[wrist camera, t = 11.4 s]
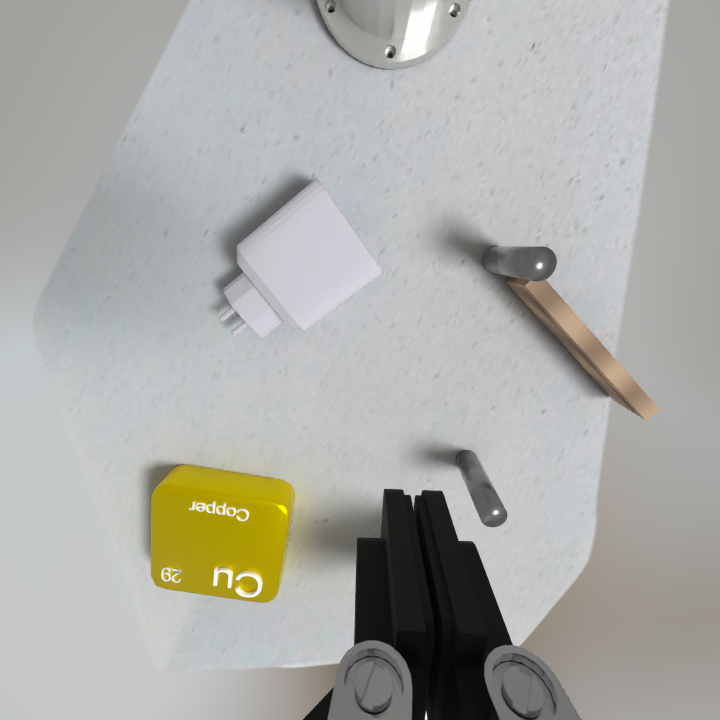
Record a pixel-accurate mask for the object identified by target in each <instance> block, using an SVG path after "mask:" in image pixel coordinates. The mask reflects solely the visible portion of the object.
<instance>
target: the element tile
mask: <svg viewBox="0 0 720 720" xmlns="http://www.w3.org/2000/svg"><path fill="white" fill-rule="evenodd" d="M294 501H295V492H294V489H293V487H292V486H291V485H290V484H289V483H287V482H285V481H283V480H280V479H274V478H268V477H262V476H255V475H249V474H243V473H237V472H230V471H224V470H218V469H212V468H205V467H199V466H193V465H178V466H176V467H174V468H173V469H172V470H171V471H170V472H169V473H168V474H167V475H166V477H165V478H164V479H163V480H162V481H161V482H160V484H159V485H158V486H157V487H156V488H155V490H154V491H153V493H152V497H151V577H152V579H153V581H154V583H155V585H157V586H159V587H161V588H164V589H168V590H175V591H182V592H189V593H196V594H203V595H210V596H217V597H224V598H231V599H238V600H245V601H252V602H269V601H271V600H273V599H274V598H275V597H276V595H277V593H278V591H279V587H280V583H281V579H282V575H283V571H284V567H285V560H286V553H287V547H288V540H289V534H290V527H291V521H292V514H293V508H294Z"/></svg>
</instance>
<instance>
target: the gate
mask: <svg viewBox="0 0 720 720" xmlns="http://www.w3.org/2000/svg"><path fill="white" fill-rule="evenodd" d="M505 282H506V283H507V284H508V285H509V286H510V287H511V288H512V289H513V291H514V292H515V293H516V294H517V295H518V296H519V297H520V298H521V299H522V300H523V302H524V303H525V304H526V305H527V306H528V307H529V308H530V309H531V310H532V311H533V313H534V314H535V315H536V316H537V317H538V318H539V319H540V320H541V321H542V322H543V323H544V325H545V326H546V327H547V328H548V329H549V330H550V331H551V332H552V333H553V334H554V336H555V337H556V338H557V339H558V340H559V341H560V342H561V343H562V344H563V345H564V346H565V348H566V349H567V350H568V351H569V352H570V353H571V354H572V355H573V356H574V357H575V359H576V360H577V361H578V362H579V363H580V364H581V365H582V366H583V367H584V368H585V369H586V371H587V372H588V373H589V374H590V375H591V376H592V377H593V378H594V379H595V380H596V382H597V383H598V384H599V385H600V386H601V387H602V388H603V389H604V390H605V391H606V393H607V394H608V395H609V396H610V397H611V398H612V399H613V400H614V401H616V402H617V403H619V404H620V405H622V406H624V407H625V408H627V409H629V410H630V411H632V412H634V413H635V414H637V415H638V416H640V417H641V418H643V419H645V420H646V419H647V418H649V417H650V416H652V415H653V414H654V413H656V412H657V411H658V410H659V408H658V407H656V405H655V404H654V403H653V402H652V400H651V399H650V398H649V397H648V396H647V395H646V394H645V392H644V391H643V390H642V389H641V388H640V387H639V386H638V384H637V383H636V382H635V381H634V380H633V379H632V378H631V377H630V375H629V374H628V373H627V372H626V371H625V370H624V369H623V367H622V366H621V365H620V364H619V363H618V362H617V361H616V359H615V358H614V357H613V356H612V355H611V354H610V353H609V351H608V350H607V349H606V348H605V347H604V346H603V345H602V343H601V342H600V341H599V340H598V339H597V338H596V337H595V335H594V334H593V333H592V332H591V331H590V330H589V329H588V328H587V326H586V325H585V324H584V323H583V322H582V321H581V320H580V318H579V317H578V316H577V315H576V314H575V313H574V312H573V310H572V309H571V308H570V307H569V306H568V305H567V304H566V302H565V301H564V300H563V299H562V298H561V297H560V296H559V295H558V293H557V292H556V291H555V290H554V289H553V288H552V287H551V285H550V284H549V283H548V282H547V281H546V280H543V281H538V282H536V281H530V280H526V279H521V278H516V277H511V276H509V277H508V278H507V279H506V280H505Z"/></svg>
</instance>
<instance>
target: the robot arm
mask: <svg viewBox="0 0 720 720" xmlns="http://www.w3.org/2000/svg"><path fill="white" fill-rule="evenodd" d="M316 1H317V4H318V7H319V10H320V13H321V16H322V18H323V20H324V22H325V24H326V26H327V28H328V30H329V31H330V33H331V34H332V35H333V37H334V38H335V39H336V41H337V42H338V43H339V45H340V46H341V47H343V48H344V49H345V50H346V51H347V52H348V53H349V54H350V55H351V56H353V57H355V58H356V59H358V60H360V61H361V62H363V63H365V64H368V65H371V66H374V67H377V68H385V69H398V68H406V67H410V66H412V65H415V64H418V63H420V62H422V61H424V60H426V59H427V58H429V57H430V56H432V55H434V54H435V53H436V52H437V51H438V50H439V49H440V48H442V47H443V46H444V45H445V44H446V43H447V42H448V41H449V39H450V38H451V37H452V35H453V34H454V32H455V31H456V30H457V28H458V27H459V25H460V23H461V21H462V19H463V17H464V15H465V13H466V11H467V9H468V6H469V4H470V1H471V0H316ZM330 10H334V12H333V13H329V11H330ZM450 14H454V15H455V17H452V16H451V15H450ZM388 54H391V55H392V56H393V58H391V59H390V58H387V55H388ZM426 713H427V720H582V719H581V718H580V716H579V715H578V713H577V711H576V709H575V708H574V706H573V704H572V703H571V701H570V699H569V697H568V696H567V694H566V692H565V690H564V689H563V687H562V685H561V684H560V682H559V680H558V679H557V677H556V676H555V674H554V673H553V672H552V670H551V669H550V667H548V666H547V665H546V664H545V663H544V662H543V661H542V660H541V659H540V658H539V657H538V656H536V655H534V654H533V653H531V652H530V651H528V650H526V649H523V648H521V647H518V646H513V644H512V642H511V639H510V636H509V634H508V631H507V628H506V626H505V623H504V620H503V618H502V615H501V612H500V610H499V607H498V604H497V601H496V599H495V596H494V593H493V591H492V588H491V585H490V583H489V580H488V577H487V575H486V572H485V569H484V567H483V564H482V561H481V559H480V556H479V553H478V551H477V548H476V546H475V544H474V543H473V542H472V541H458V538H457V535H456V532H455V529H454V525H453V522H452V519H451V516H450V513H449V510H448V507H447V504H446V500H445V497H444V494H443V492H442V491H429V490H423V491H422V495H416V496H415V502H414V511H413V506H412V500H411V496H410V495H404V492H403V490H400V489H384V495H383V511H382V526H381V538H357V560H356V593H355V635H354V646H353V647H352V648H351V649H349V650H348V651H347V653H346V654H345V655H344V657H343V658H342V660H341V662H340V665H339V667H338V670H337V674H336V679H335V684H334V687H333V689H331V691H330V692H329V693H328V694H327V695H326V696H325V697H324V698H323V699H322V700H321V701H320V702H319V704H317V705H316V706H315V708H314V709H313V710H312V711H311V712H310V713H309V714H308V715H307V716H306V717H305V718H304V719H303V720H425V715H426Z"/></svg>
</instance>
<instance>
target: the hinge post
mask: <svg viewBox="0 0 720 720" xmlns="http://www.w3.org/2000/svg"><path fill="white" fill-rule="evenodd" d="M556 263H557V260H556V256H555V254H554V252H553V251H552V250H551V249H549V248H547V247H492V248H490V249H488V250H487V251H486V252H485V254H484V256H483V266H484V268H485V269H486V270H487V271H489V272H492V273H497V274H502V275H506V276H511V277H516V278H521V279H526V280H530V281H536V282H538V281H543V280H545V279H547V278H548V277H550V276H551V275H552V273H553V272H554V270H555V268H556Z"/></svg>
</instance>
